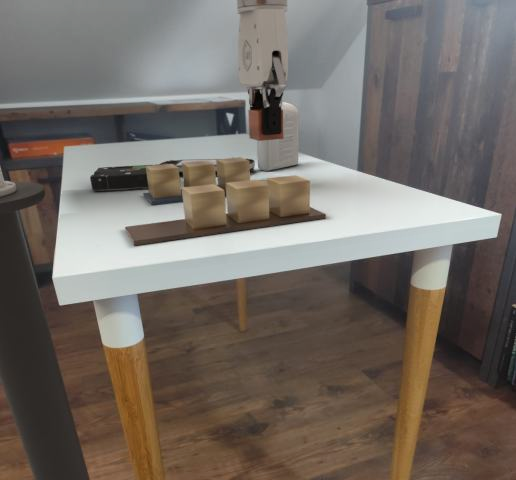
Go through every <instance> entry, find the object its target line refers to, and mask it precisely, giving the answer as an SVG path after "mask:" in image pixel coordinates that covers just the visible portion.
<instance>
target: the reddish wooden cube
mask: <svg viewBox="0 0 516 480" xmlns="http://www.w3.org/2000/svg"><path fill="white" fill-rule="evenodd" d="M281 123H282V132H281V134H275V135H263V133H262V109H255V110H250V109H248V132H249V133H248V134H249V139H250V140H254V141H257V140H258V141H264V140H275V139H283V109H281Z"/></svg>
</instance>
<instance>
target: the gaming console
mask: <svg viewBox="0 0 516 480" xmlns="http://www.w3.org/2000/svg"><path fill="white" fill-rule="evenodd" d="M217 159H218V158H203V159H202V158H199V159H197V158H195V159H177V160H174V159H170V160H166V161H163V162H160V164H175V166H177V167H178V168H179V177H183V170H182V163H185V162H196V161H209V162H211V163H213V164H215V174H216V176H217V163H216V160H217ZM245 159H246V160H249V163H250V173H251V172H252V171H253V170H254V168H255V166H256V165H255V164H256V163H255V160H254V159H252V158H245Z"/></svg>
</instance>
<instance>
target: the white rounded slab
mask: <svg viewBox="0 0 516 480" xmlns="http://www.w3.org/2000/svg"><path fill="white" fill-rule="evenodd" d="M281 109H283V139H275V140H264V141H258V140H256V148H257V149H256V151H257V152H256V153H257V154H256V155H257V157H256V158H257V168H258V169H259V170H260V171H266V172H267V171H268V172H269V171H270V172H271V171H274V170H278V169H282V168H287V167H291V166H296V165H298V163H299V139H300V138H299V136H300V135H299V134H300V131H299V130H300V128H299V127H300V126H299V124H300V123H299V122H300V116H299V110H298V108H297V107H296V106H295V105H293V104H292V103H289V102H285V101H282V107H281Z"/></svg>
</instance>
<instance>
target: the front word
mask: <svg viewBox="0 0 516 480" xmlns="http://www.w3.org/2000/svg"><path fill="white" fill-rule="evenodd" d="M266 179H267V184H265V183H263V182H260V181H258V180H259V179H250V180H247V181H238V182H229V183H226V196H225V191H224V190H223V189H221V188H220V187H218V186H216V185H217V184H216V185H215V184H211V185H202V186H193V187H184V186H183V187H181V189H182V195H183V201H182V203H183V213H184V218H182V219H175V220H165V221H161V222H160V221H159V222H151V223H145V224H137V225H136V224H135V225H130V226H129V225H128V226H124V230H125V233H126V234H127V236H128V238H129V239H130V241H131V243H132V244H133V246H134V247H135V246H141V245H142V246H143V245H150V244H157V243H162V242H169V241H170V242H171V241H177V240H184V239H191V238H198V237H205V236H212V235H219V234H227V233H233V232H240V231H247V230H253V229H262V228H268V227H274V226H281V225H289V224H295V223H303V222H310V221H317V220H323V219H326V216H327V214H326V213H325V212H322V211H320V210H318V209H315V208H313V207H311V205H310V204H311V180H310V179H308V178H304V177H302V176H299V175H297V174H294V175H293V174H292V175H285V176H276V177H275V176H274V177H268V178H266Z"/></svg>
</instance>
